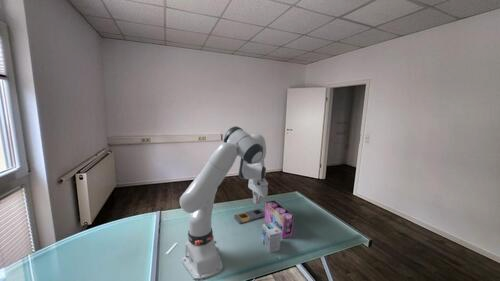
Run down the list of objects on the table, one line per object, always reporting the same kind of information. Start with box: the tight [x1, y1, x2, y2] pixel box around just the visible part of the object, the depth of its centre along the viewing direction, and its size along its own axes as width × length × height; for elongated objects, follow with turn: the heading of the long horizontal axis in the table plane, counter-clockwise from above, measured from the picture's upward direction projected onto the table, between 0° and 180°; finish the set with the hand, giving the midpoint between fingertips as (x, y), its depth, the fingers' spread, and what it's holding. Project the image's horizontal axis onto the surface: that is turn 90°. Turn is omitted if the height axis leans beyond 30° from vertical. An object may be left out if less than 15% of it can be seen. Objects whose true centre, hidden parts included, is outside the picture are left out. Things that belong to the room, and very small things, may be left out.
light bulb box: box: [261, 223, 282, 254], centre depth 109 cm, size 11×7×11 cm, turn 21°
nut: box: [252, 193, 262, 205], centre depth 141 cm, size 4×4×6 cm
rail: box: [233, 208, 265, 225], centre depth 139 cm, size 8×22×3 cm, turn 120°
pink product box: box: [264, 200, 295, 239], centre depth 127 cm, size 24×8×14 cm, turn 25°
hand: (256, 198), depth 141 cm, fingers closed on nut, 4 cm apart
